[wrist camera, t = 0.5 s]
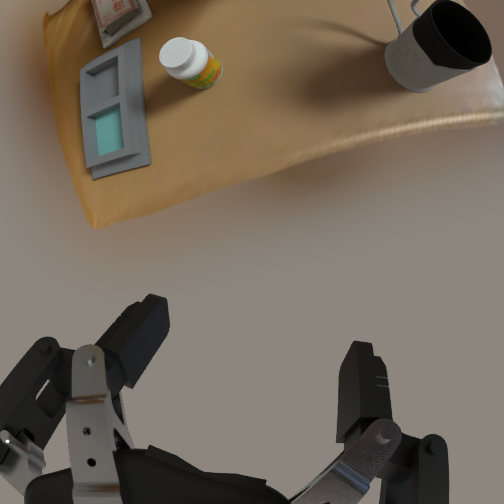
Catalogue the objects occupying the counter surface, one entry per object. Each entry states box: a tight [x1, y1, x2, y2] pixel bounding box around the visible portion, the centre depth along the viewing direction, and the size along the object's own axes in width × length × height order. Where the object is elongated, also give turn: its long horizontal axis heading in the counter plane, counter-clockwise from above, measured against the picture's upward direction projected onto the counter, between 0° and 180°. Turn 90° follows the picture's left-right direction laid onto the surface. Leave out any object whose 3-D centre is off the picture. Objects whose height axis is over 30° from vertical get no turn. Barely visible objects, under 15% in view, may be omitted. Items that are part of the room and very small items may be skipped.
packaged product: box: [91, 0, 153, 48], centre depth 25 cm, size 18×5×10 cm
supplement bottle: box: [159, 37, 222, 89], centre depth 26 cm, size 5×5×10 cm
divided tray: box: [80, 37, 152, 179], centre depth 33 cm, size 22×12×3 cm, turn 7°
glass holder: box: [384, 0, 492, 93], centre depth 18 cm, size 9×14×15 cm, turn 33°
